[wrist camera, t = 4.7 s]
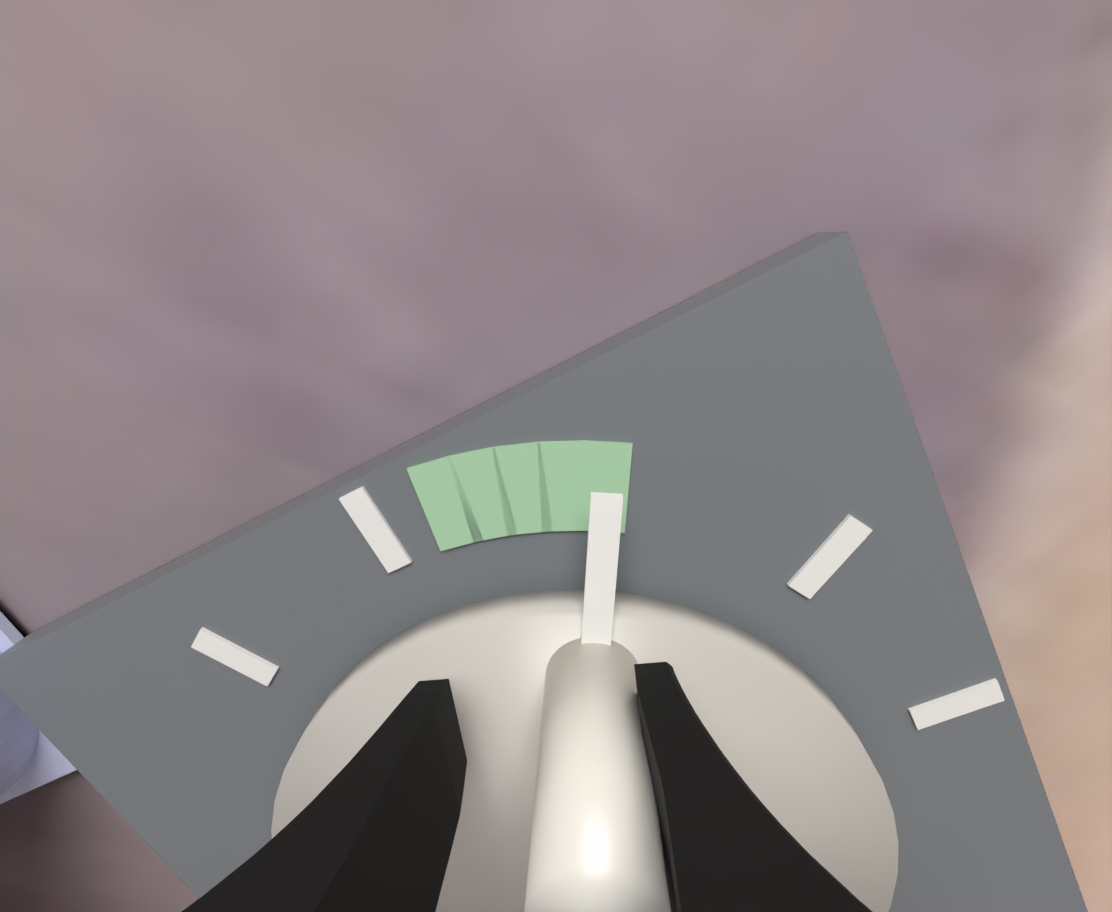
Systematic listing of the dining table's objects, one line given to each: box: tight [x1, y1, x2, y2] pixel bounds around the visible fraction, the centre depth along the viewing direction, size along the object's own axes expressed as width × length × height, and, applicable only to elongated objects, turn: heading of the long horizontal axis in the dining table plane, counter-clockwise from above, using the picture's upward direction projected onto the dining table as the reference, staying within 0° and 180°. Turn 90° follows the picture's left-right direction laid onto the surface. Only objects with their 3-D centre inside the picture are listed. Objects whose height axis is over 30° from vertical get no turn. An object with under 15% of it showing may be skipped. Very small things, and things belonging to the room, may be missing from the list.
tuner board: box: [0, 232, 1088, 912], centre depth 17 cm, size 22×22×2 cm
